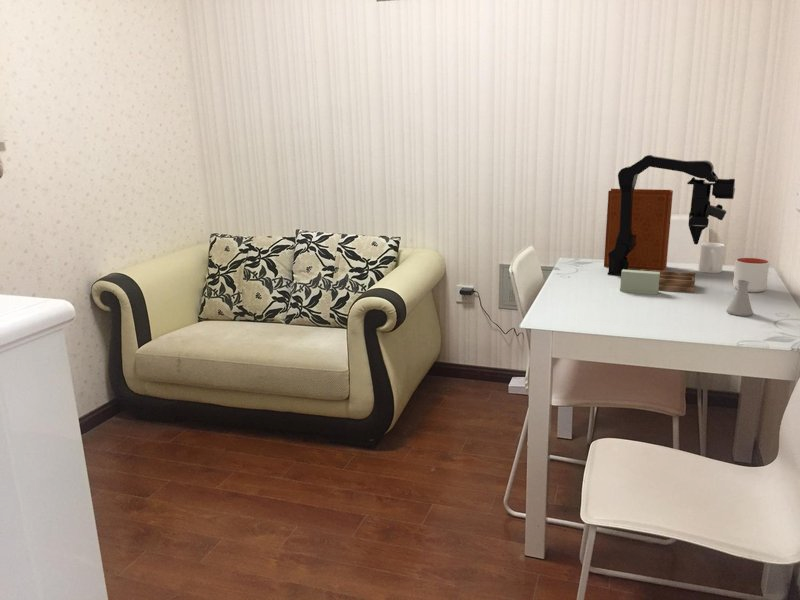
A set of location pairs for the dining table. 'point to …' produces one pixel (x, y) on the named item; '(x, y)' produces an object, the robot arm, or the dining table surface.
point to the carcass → (676, 281)
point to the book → (642, 227)
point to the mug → (711, 257)
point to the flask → (741, 300)
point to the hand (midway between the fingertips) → (695, 242)
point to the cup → (751, 273)
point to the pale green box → (639, 281)
